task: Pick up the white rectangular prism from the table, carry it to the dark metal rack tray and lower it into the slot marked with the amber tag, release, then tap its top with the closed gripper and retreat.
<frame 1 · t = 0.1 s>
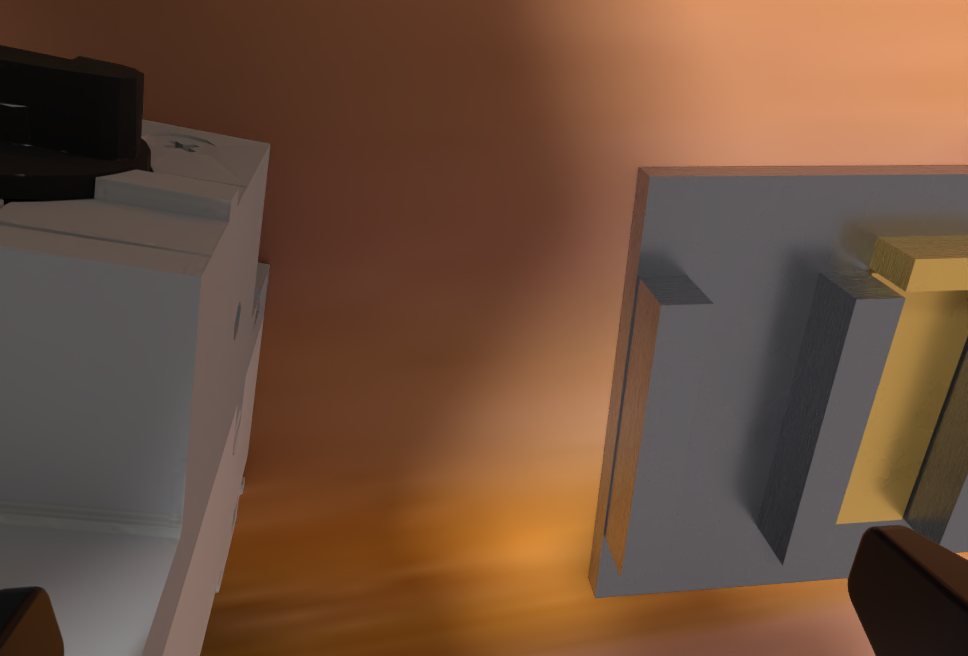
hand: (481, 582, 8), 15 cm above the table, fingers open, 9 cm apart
rack: (791, 393, 26), on the table
circuit breaker: (132, 271, 21), on the table
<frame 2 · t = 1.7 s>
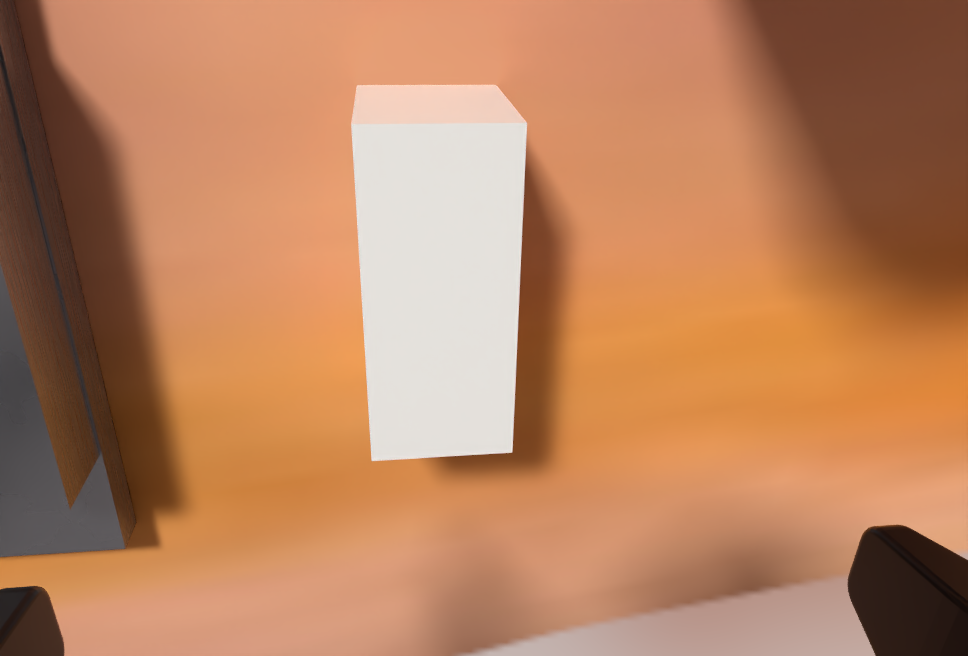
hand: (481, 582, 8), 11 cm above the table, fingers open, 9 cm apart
white rectangular prism: (429, 236, 18), on the table
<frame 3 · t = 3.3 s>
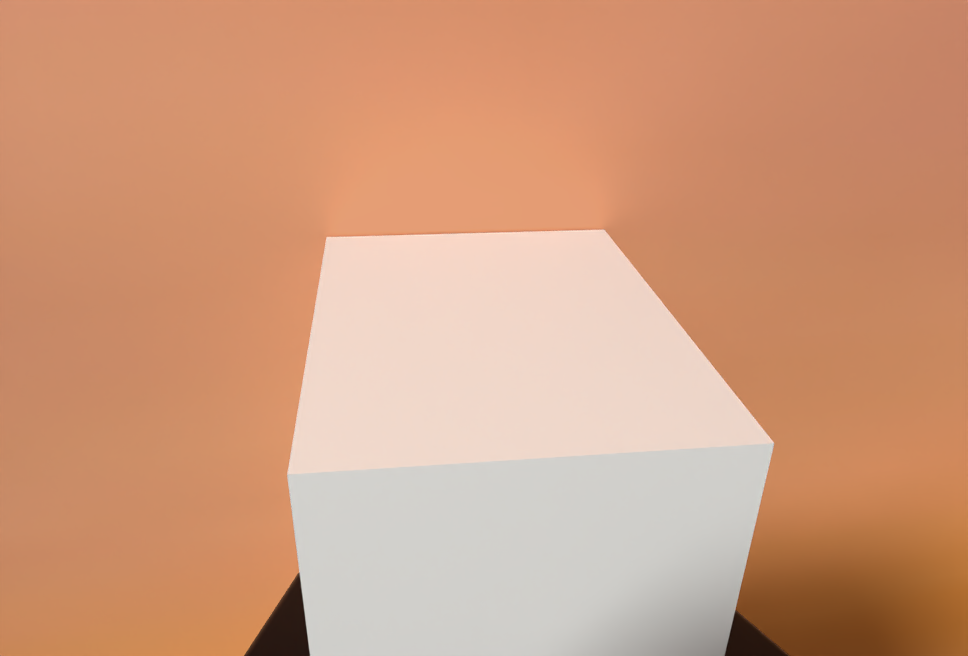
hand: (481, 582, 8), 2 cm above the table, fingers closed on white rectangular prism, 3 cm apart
white rectangular prism: (466, 491, 10), on the table, touching gripper
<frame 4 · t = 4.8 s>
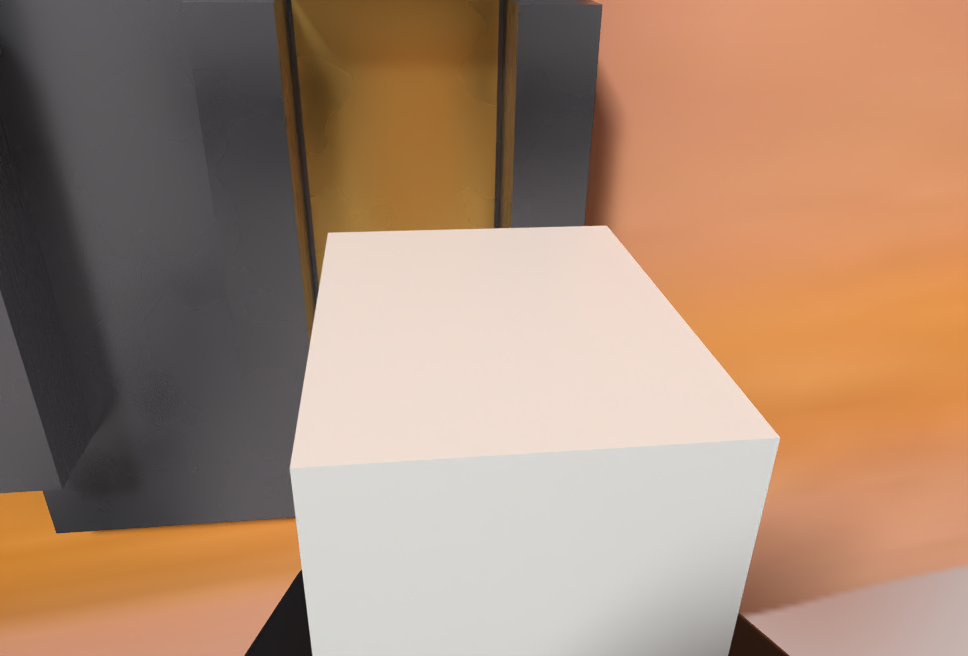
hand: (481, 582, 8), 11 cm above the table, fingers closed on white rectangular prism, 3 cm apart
rack: (281, 223, 18), on the table
white rectangular prism: (467, 488, 10), point 10 cm above the table, touching gripper
when the fingers open (4 cm above the table, at t = 6.5 s): white rectangular prism drops 1 cm, resting on rack.
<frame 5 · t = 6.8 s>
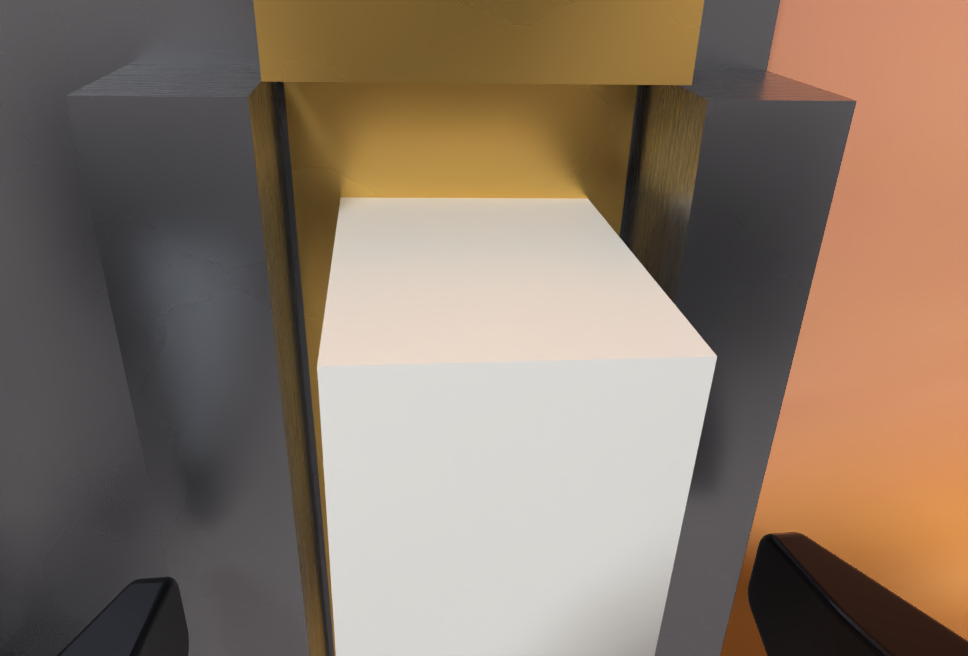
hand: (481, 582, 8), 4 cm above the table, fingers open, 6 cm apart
rack: (264, 401, 11), on the table
white rectangular prism: (458, 437, 11), point 1 cm above the table, touching rack
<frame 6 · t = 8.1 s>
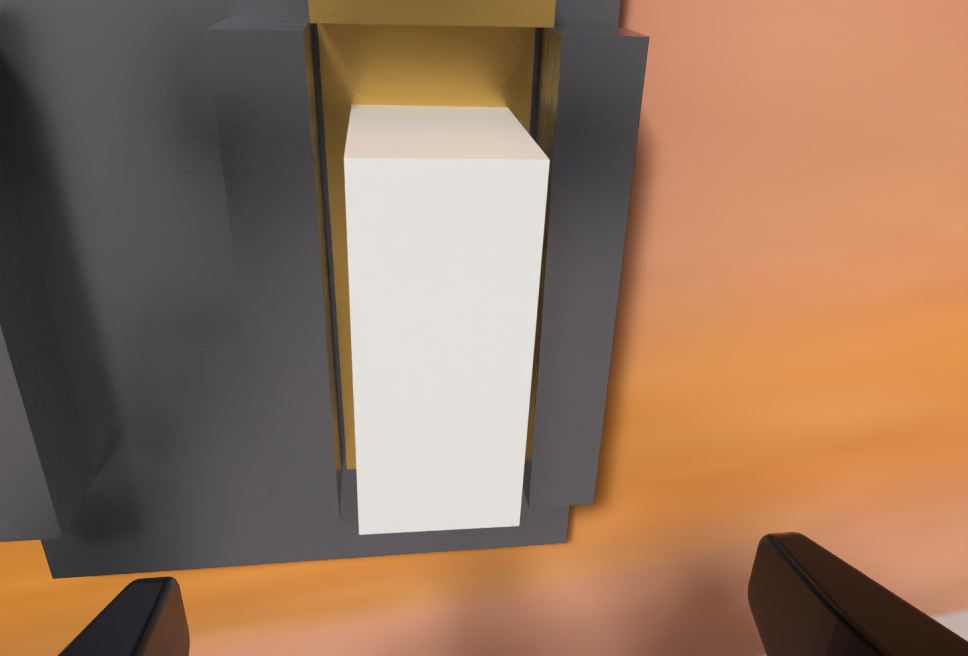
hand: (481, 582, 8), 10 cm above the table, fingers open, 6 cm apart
rack: (297, 256, 17), on the table
white rectangular prism: (428, 274, 16), point 1 cm above the table, touching rack
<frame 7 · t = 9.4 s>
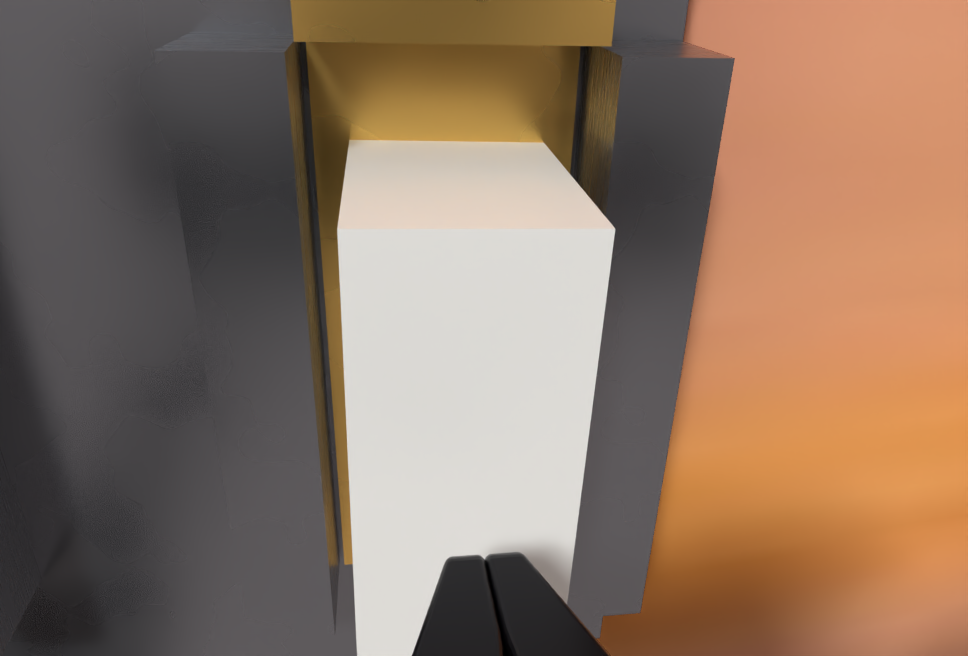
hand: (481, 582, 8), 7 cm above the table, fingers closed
rack: (285, 317, 14), on the table
white rectangular prism: (443, 342, 13), point 1 cm above the table, touching rack
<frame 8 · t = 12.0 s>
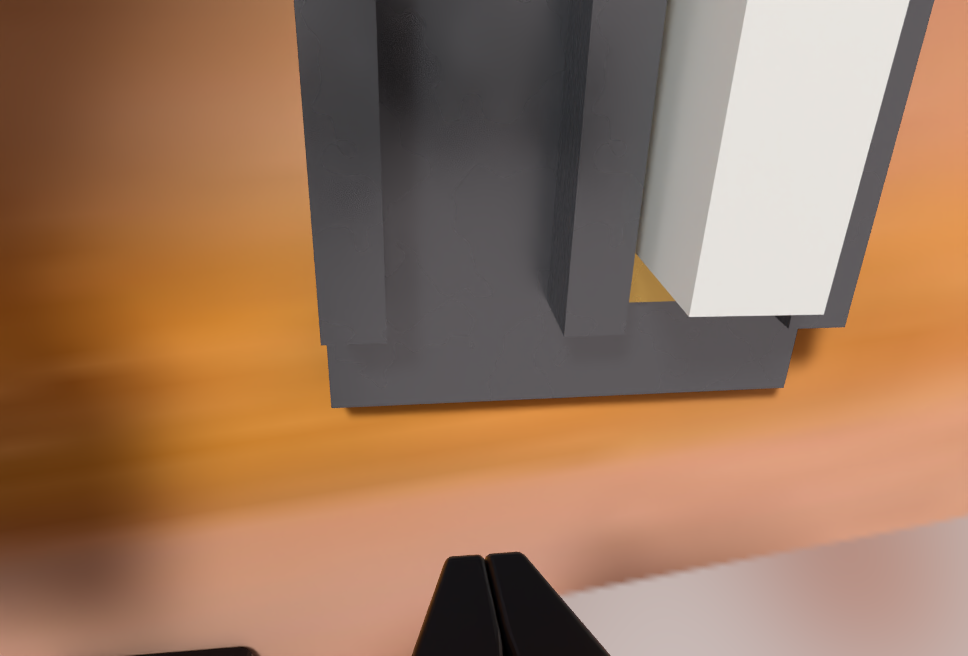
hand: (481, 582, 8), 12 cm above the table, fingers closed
rack: (582, 98, 19), on the table
white rectangular prism: (712, 108, 18), point 1 cm above the table, touching rack
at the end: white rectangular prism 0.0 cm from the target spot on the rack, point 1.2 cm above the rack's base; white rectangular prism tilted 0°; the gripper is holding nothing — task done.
